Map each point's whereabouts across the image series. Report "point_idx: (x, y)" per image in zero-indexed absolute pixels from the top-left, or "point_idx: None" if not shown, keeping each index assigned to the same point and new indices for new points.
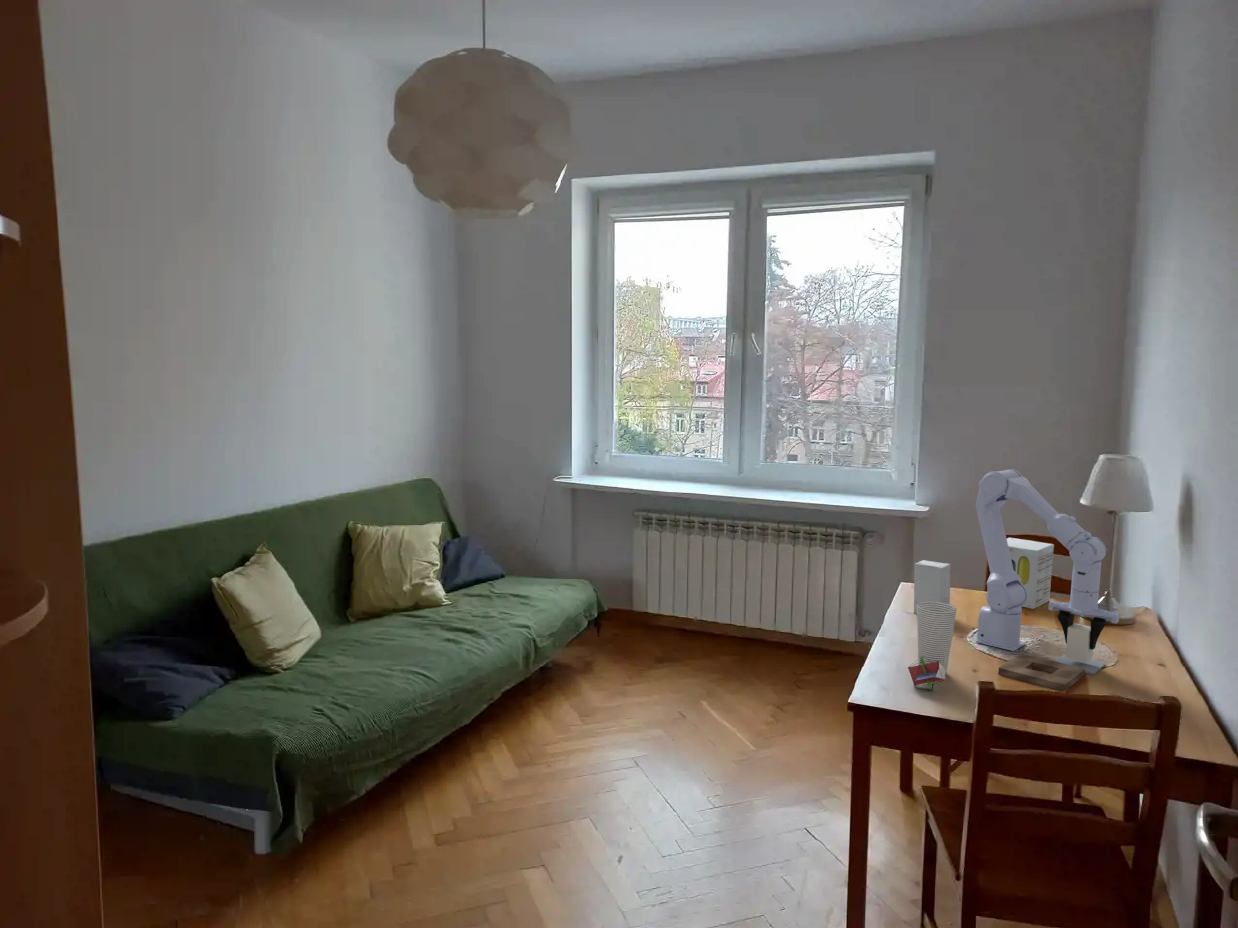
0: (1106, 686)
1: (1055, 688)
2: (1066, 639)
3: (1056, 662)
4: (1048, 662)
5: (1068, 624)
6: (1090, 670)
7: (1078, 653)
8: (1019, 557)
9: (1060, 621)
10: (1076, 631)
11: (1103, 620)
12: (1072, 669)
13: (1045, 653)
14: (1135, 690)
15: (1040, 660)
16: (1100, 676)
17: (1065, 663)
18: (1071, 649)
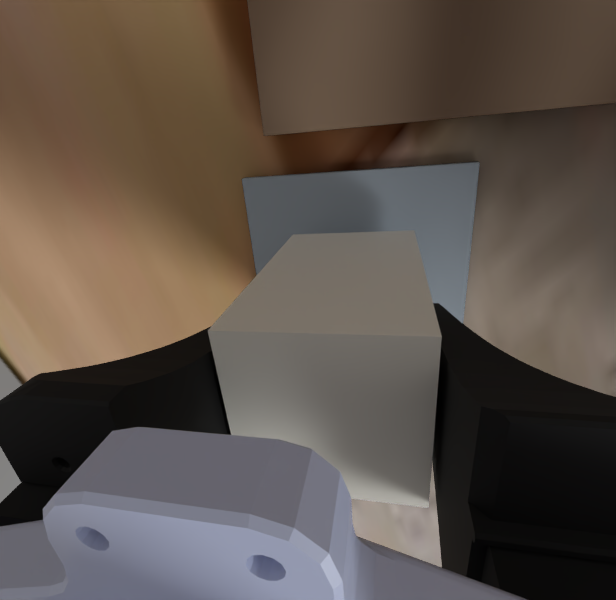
0: (122, 32)
1: None
2: (438, 309)
3: (440, 98)
4: (490, 38)
5: (451, 388)
6: (273, 214)
7: (332, 245)
8: None
9: (576, 386)
10: (340, 320)
11: (17, 498)
12: (307, 33)
13: (552, 337)
14: (34, 109)
15: (558, 33)
16: (217, 184)
17: (409, 224)
18: (380, 249)
